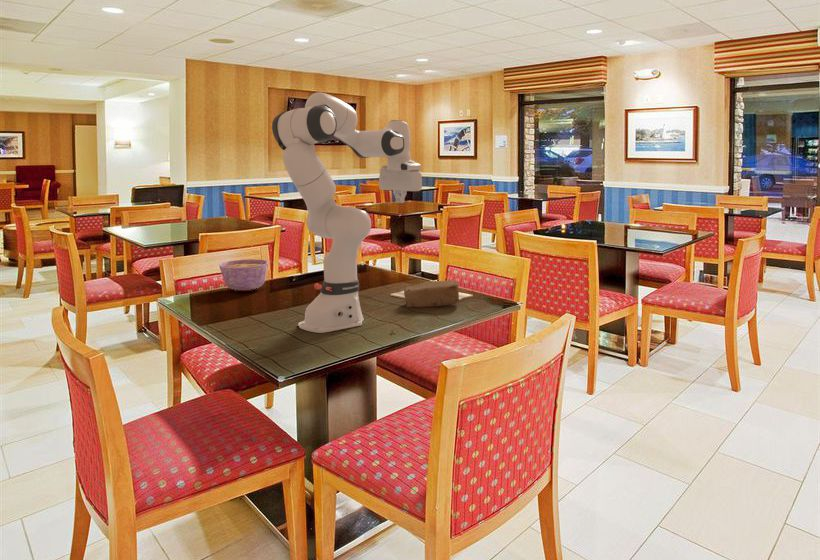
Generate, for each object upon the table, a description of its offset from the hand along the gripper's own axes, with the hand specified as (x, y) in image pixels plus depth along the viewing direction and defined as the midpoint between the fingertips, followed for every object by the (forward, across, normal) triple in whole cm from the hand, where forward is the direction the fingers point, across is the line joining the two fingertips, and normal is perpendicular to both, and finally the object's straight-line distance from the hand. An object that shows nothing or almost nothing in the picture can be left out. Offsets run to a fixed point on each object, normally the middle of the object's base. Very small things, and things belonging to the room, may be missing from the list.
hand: (400, 202), depth 233 cm
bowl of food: (+37, -61, -33) cm, 79 cm away
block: (+32, +24, +6) cm, 40 cm away
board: (+37, +6, +10) cm, 39 cm away
